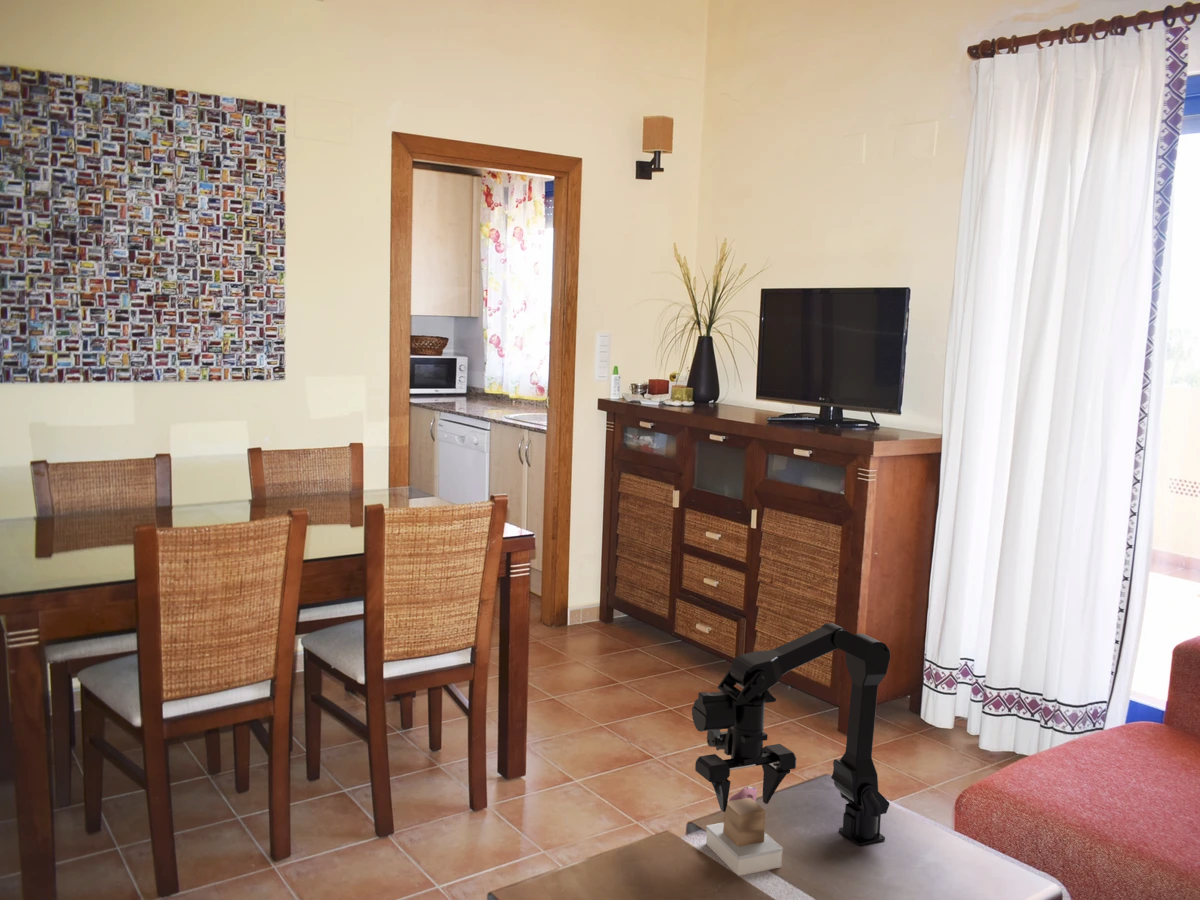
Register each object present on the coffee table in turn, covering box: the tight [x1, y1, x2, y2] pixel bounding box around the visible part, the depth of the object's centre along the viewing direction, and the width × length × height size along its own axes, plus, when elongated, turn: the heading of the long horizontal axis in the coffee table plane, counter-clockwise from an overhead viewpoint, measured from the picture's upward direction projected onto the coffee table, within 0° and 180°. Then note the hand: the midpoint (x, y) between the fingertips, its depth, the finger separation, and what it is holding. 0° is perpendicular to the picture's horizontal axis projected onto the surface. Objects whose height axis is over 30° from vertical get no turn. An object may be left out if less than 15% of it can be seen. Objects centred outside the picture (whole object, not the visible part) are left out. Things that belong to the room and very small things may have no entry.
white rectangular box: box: [705, 821, 784, 876], centre depth 178 cm, size 9×12×4 cm
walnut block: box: [723, 798, 766, 846], centre depth 178 cm, size 6×6×6 cm
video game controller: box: [728, 785, 758, 803], centre depth 193 cm, size 10×5×7 cm, turn 169°
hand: (744, 806), depth 177 cm, fingers open, 9 cm apart
